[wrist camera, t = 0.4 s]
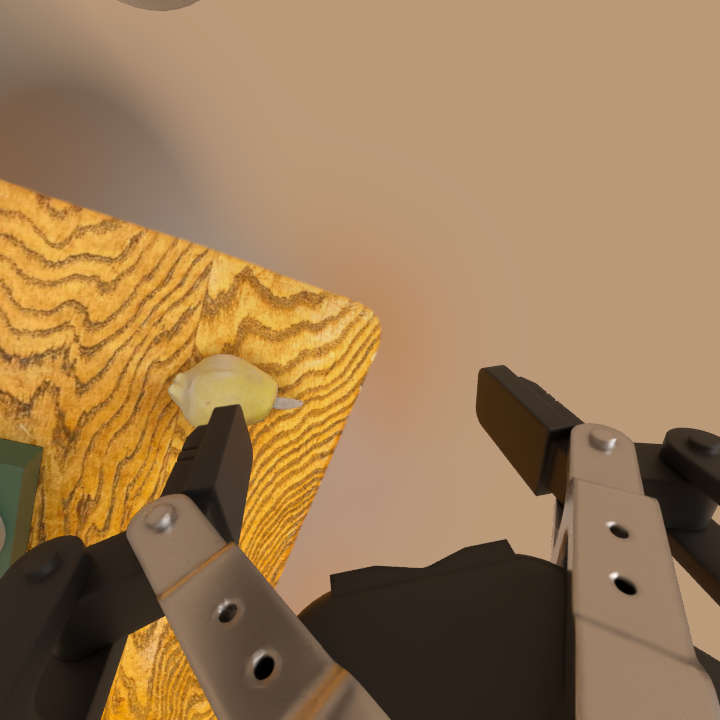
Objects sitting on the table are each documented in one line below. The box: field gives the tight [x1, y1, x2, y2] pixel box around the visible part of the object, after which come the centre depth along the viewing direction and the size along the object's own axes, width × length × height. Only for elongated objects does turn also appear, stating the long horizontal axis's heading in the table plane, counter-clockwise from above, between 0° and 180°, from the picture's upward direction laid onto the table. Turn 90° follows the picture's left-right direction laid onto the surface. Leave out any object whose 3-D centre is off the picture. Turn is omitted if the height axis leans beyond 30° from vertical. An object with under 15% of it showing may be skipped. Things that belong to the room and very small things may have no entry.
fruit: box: [168, 354, 303, 428], centre depth 27 cm, size 6×6×10 cm
